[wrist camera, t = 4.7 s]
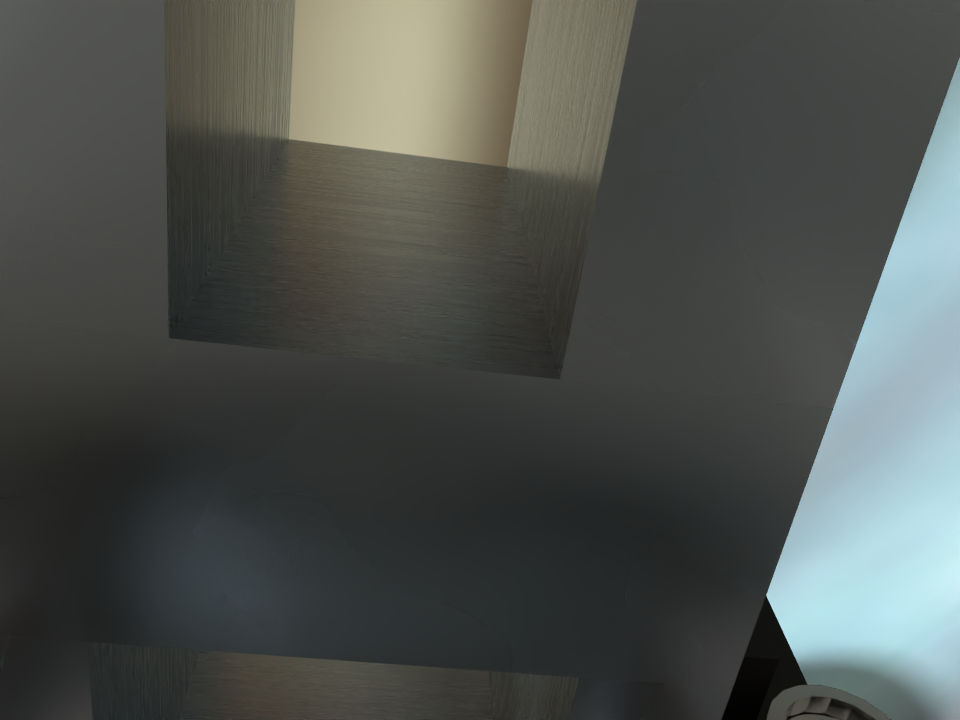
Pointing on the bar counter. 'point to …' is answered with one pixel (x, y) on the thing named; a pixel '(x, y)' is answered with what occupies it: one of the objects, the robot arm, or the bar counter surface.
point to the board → (409, 75)
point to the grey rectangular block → (429, 358)
